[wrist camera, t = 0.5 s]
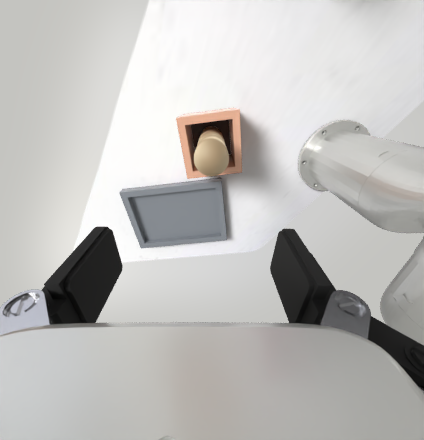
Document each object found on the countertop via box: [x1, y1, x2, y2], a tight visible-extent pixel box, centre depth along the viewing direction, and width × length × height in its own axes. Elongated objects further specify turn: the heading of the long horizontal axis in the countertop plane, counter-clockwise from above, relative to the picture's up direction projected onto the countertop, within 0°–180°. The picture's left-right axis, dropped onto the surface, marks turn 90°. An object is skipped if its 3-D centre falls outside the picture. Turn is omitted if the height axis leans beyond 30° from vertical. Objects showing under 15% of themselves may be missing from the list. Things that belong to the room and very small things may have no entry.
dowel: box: [194, 126, 229, 176], centre depth 29 cm, size 4×4×15 cm
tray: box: [120, 178, 227, 248], centre depth 42 cm, size 20×14×2 cm
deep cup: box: [176, 108, 242, 179], centre depth 32 cm, size 8×8×8 cm
